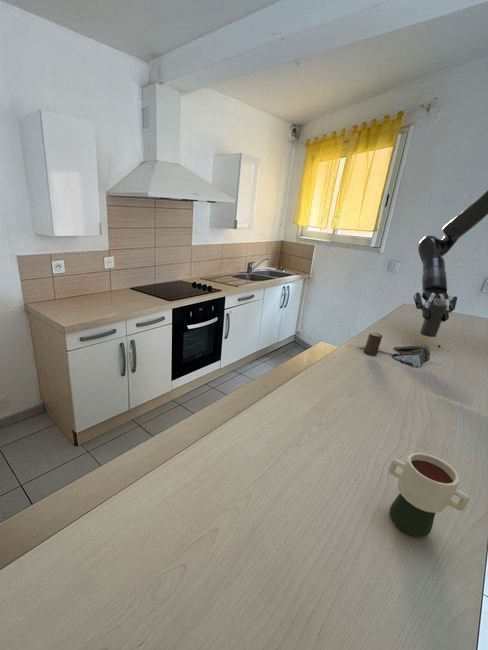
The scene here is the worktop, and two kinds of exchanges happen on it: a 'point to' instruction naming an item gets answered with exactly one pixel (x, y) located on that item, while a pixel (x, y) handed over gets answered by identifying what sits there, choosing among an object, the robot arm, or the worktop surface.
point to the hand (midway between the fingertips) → (435, 319)
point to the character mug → (423, 492)
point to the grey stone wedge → (412, 354)
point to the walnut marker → (373, 343)
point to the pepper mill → (434, 318)
